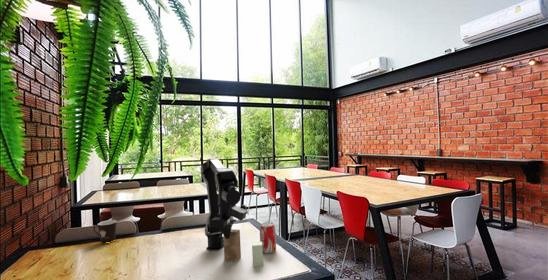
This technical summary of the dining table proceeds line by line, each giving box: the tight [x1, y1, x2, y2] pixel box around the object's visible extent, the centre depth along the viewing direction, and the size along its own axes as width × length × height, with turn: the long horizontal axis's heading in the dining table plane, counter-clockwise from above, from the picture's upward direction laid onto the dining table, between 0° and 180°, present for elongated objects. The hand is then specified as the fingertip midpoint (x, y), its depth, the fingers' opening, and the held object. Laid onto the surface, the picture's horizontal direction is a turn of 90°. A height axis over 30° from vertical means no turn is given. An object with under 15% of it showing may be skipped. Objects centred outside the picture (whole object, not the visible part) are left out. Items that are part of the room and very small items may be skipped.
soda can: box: [259, 222, 277, 254], centre depth 126 cm, size 7×7×12 cm
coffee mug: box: [92, 220, 118, 243], centre depth 150 cm, size 12×9×10 cm
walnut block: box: [222, 228, 242, 262], centre depth 119 cm, size 6×4×12 cm, turn 73°
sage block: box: [251, 241, 264, 267], centre depth 114 cm, size 4×4×8 cm
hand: (227, 238), depth 116 cm, fingers closed
